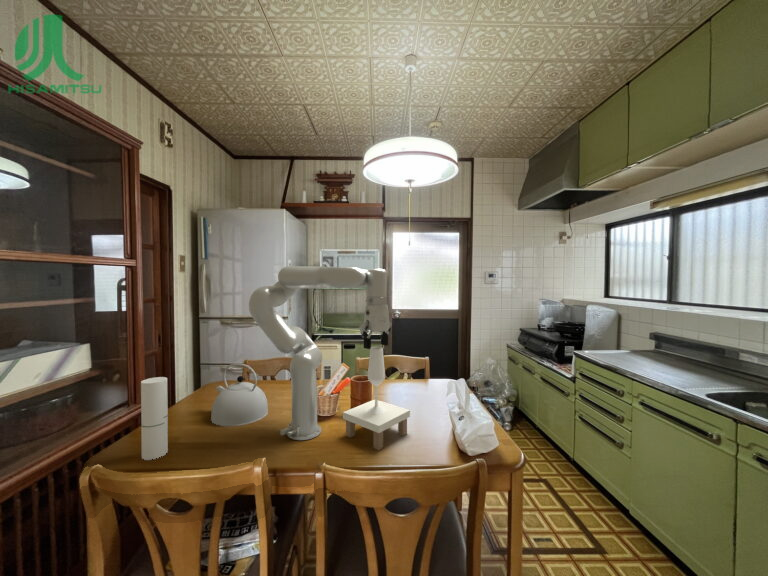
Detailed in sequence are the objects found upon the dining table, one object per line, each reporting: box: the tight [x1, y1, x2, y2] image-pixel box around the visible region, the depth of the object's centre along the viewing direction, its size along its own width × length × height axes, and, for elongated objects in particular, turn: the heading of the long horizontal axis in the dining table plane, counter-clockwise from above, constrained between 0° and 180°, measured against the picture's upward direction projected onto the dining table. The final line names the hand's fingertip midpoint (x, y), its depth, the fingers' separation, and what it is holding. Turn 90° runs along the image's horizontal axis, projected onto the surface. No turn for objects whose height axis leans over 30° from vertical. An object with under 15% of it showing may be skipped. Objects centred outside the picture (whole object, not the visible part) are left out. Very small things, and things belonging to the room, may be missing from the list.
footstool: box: [342, 398, 411, 451], centre depth 122 cm, size 18×18×9 cm
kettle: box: [210, 363, 269, 427], centre depth 141 cm, size 25×23×22 cm
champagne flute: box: [367, 346, 386, 415], centre depth 122 cm, size 7×7×24 cm
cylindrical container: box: [140, 376, 169, 461], centre depth 108 cm, size 7×7×25 cm
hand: (376, 346), depth 122 cm, fingers open, 9 cm apart
